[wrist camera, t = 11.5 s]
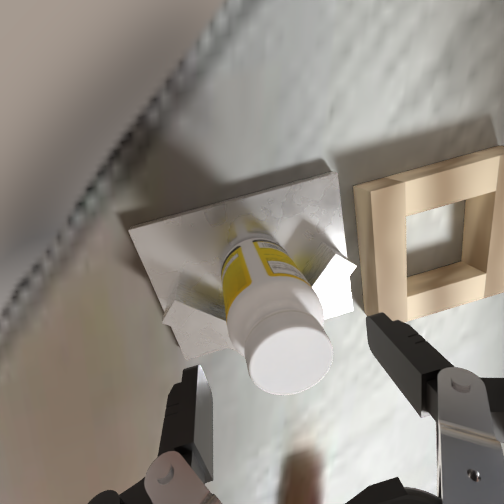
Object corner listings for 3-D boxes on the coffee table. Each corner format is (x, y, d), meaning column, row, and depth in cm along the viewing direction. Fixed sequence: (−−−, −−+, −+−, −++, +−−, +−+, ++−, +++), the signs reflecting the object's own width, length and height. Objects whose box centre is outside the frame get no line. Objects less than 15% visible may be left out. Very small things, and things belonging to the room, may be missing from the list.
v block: (331, 171, 20) (354, 177, 17) (348, 306, 25) (368, 331, 22) (131, 226, 20) (117, 242, 17) (187, 354, 25) (184, 386, 21)
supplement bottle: (232, 308, 22) (249, 421, 13) (210, 249, 20) (213, 335, 11) (296, 288, 23) (355, 385, 14) (281, 226, 20) (339, 294, 11)
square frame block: (498, 145, 22) (533, 146, 19) (483, 277, 26) (510, 290, 24) (352, 186, 21) (370, 191, 19) (364, 313, 26) (379, 329, 24)
